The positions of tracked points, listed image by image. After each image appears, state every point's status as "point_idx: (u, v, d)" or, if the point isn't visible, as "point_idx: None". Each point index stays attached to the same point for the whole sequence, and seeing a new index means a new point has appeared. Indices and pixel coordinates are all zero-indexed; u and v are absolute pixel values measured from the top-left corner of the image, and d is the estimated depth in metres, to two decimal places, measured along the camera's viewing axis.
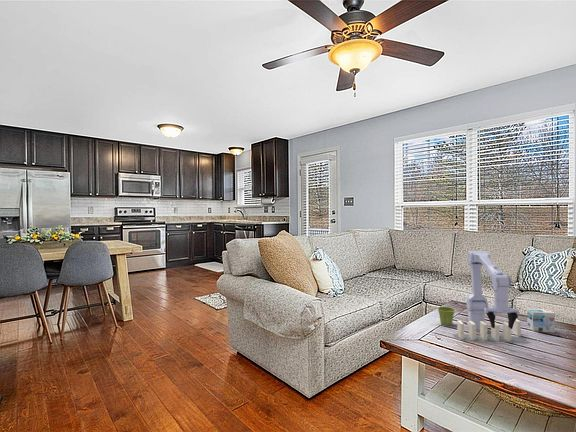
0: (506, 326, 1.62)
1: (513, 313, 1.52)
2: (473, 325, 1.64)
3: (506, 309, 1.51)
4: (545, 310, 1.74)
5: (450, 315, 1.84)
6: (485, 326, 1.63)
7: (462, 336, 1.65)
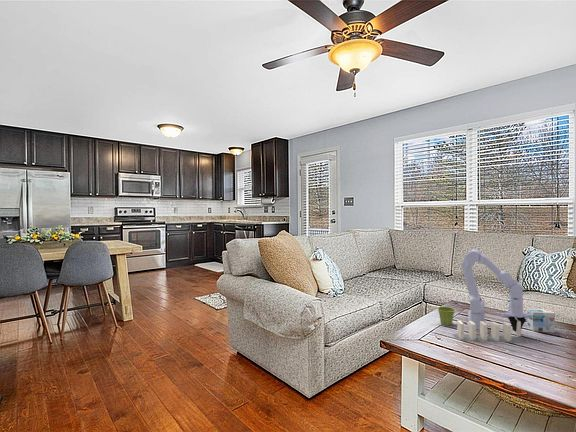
0: (506, 326, 1.62)
1: (527, 317, 1.67)
2: (473, 325, 1.64)
3: (521, 314, 1.66)
4: (545, 310, 1.74)
5: (450, 315, 1.84)
6: (485, 326, 1.63)
7: (462, 336, 1.65)
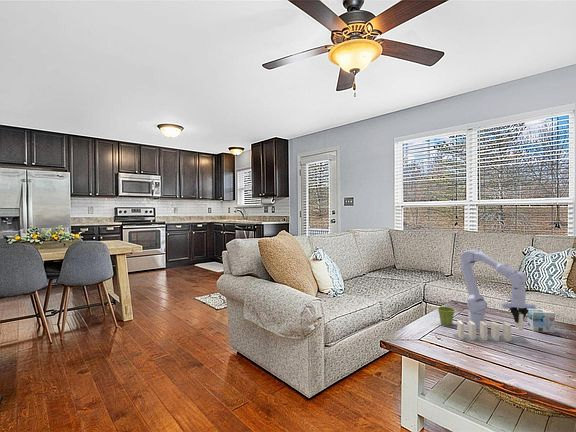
0: (506, 326, 1.62)
1: (530, 308, 1.60)
2: (473, 325, 1.64)
3: (523, 304, 1.59)
4: (545, 310, 1.74)
5: (450, 315, 1.84)
6: (485, 326, 1.63)
7: (462, 336, 1.65)
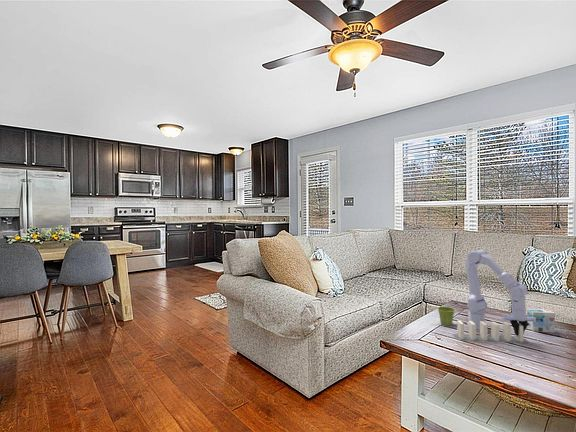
0: (506, 326, 1.62)
1: None
2: (473, 325, 1.64)
3: (523, 317, 1.59)
4: (545, 310, 1.74)
5: (450, 315, 1.84)
6: (485, 326, 1.63)
7: (462, 336, 1.65)
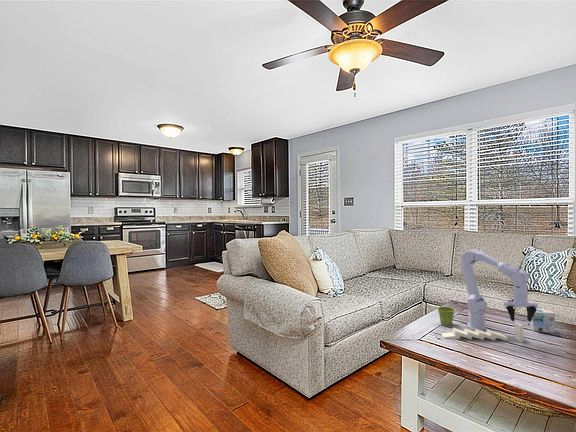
0: None
1: (532, 307, 1.60)
2: (456, 333, 1.65)
3: (525, 303, 1.59)
4: (545, 310, 1.74)
5: (450, 315, 1.84)
6: (469, 334, 1.64)
7: (457, 337, 1.65)
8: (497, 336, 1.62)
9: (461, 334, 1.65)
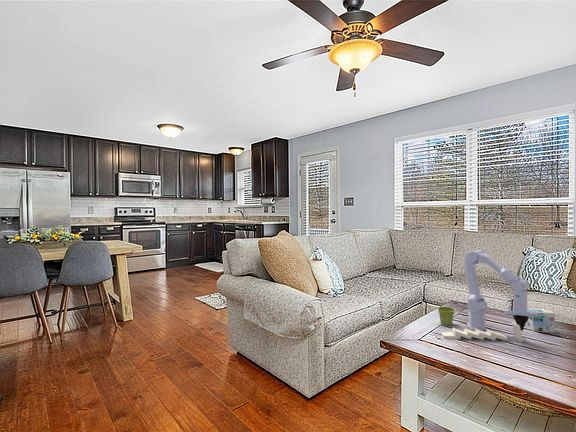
0: None
1: None
2: (456, 333, 1.65)
3: (525, 312, 1.59)
4: (545, 310, 1.74)
5: (450, 315, 1.84)
6: (469, 334, 1.64)
7: (457, 337, 1.65)
8: (497, 336, 1.62)
9: (461, 334, 1.65)
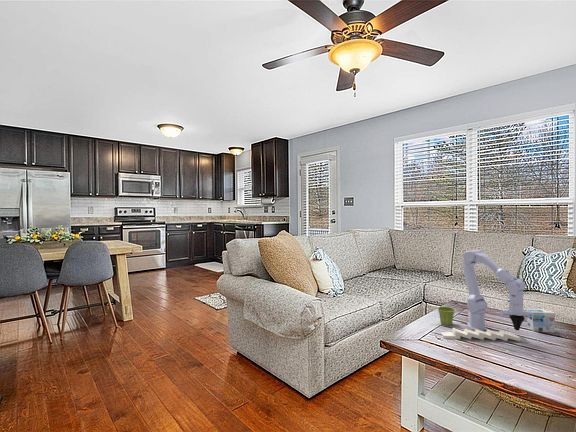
0: None
1: None
2: (456, 333, 1.65)
3: (521, 312, 1.59)
4: (545, 310, 1.74)
5: (450, 315, 1.84)
6: (469, 334, 1.64)
7: (457, 337, 1.65)
8: (497, 336, 1.62)
9: (461, 334, 1.65)
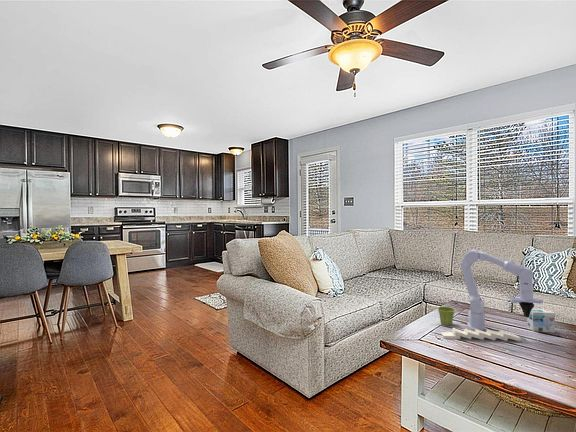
0: None
1: None
2: (456, 333, 1.65)
3: (531, 299, 1.64)
4: (545, 310, 1.74)
5: (450, 315, 1.84)
6: (469, 334, 1.64)
7: (457, 337, 1.65)
8: (497, 336, 1.62)
9: (461, 334, 1.65)
